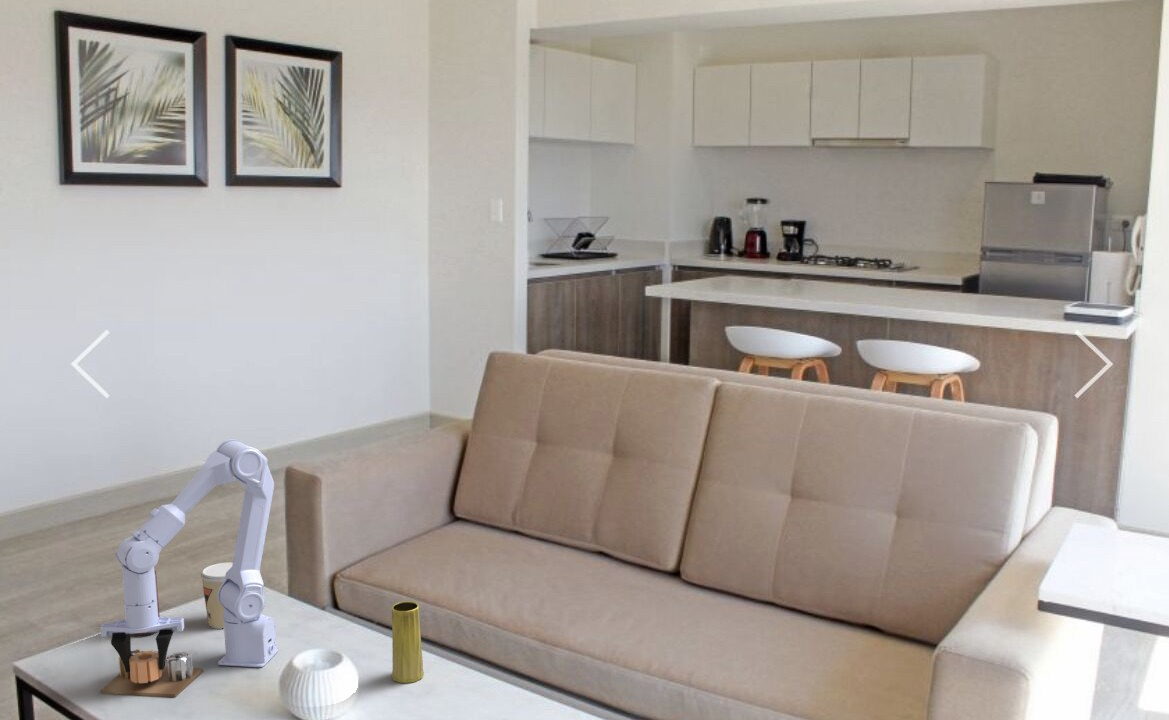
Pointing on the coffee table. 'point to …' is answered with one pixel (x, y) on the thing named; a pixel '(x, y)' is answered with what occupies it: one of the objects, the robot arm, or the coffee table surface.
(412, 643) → the vase
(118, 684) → the gear board
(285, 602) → the coffee table surface
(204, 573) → the coffee cup
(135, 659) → the idler gear
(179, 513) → the robot arm
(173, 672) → the gear
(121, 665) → the gear
